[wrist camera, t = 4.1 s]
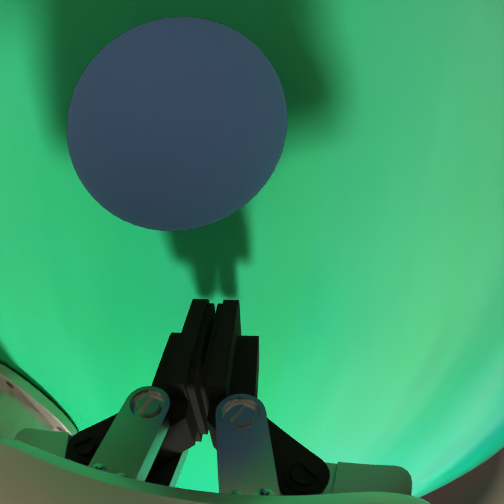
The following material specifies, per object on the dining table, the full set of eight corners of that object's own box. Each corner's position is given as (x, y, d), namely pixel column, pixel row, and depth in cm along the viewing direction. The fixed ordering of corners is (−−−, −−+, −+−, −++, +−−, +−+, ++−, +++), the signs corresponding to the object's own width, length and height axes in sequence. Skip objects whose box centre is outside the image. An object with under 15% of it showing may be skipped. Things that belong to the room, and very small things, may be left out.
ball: (134, 199, 11) (51, 274, 6) (118, 55, 9) (13, 38, 4) (283, 191, 11) (298, 272, 6) (277, 34, 8) (290, -32, 3)
